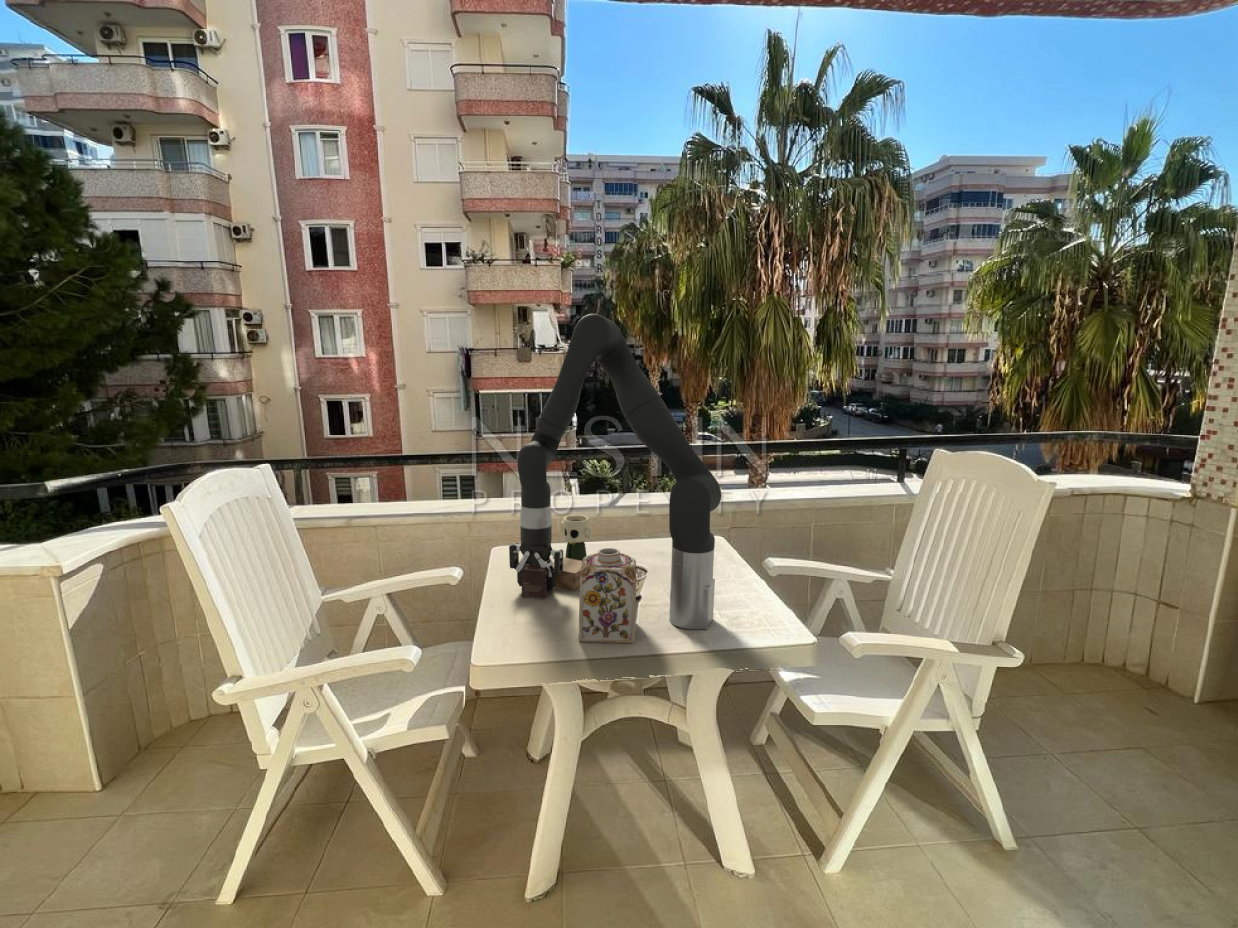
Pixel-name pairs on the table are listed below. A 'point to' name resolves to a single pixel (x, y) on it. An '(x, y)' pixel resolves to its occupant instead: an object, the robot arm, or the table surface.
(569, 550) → the character mug
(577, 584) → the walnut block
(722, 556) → the table surface
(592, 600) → the decorative jar
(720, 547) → the table surface
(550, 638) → the table surface
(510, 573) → the table surface
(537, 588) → the box
